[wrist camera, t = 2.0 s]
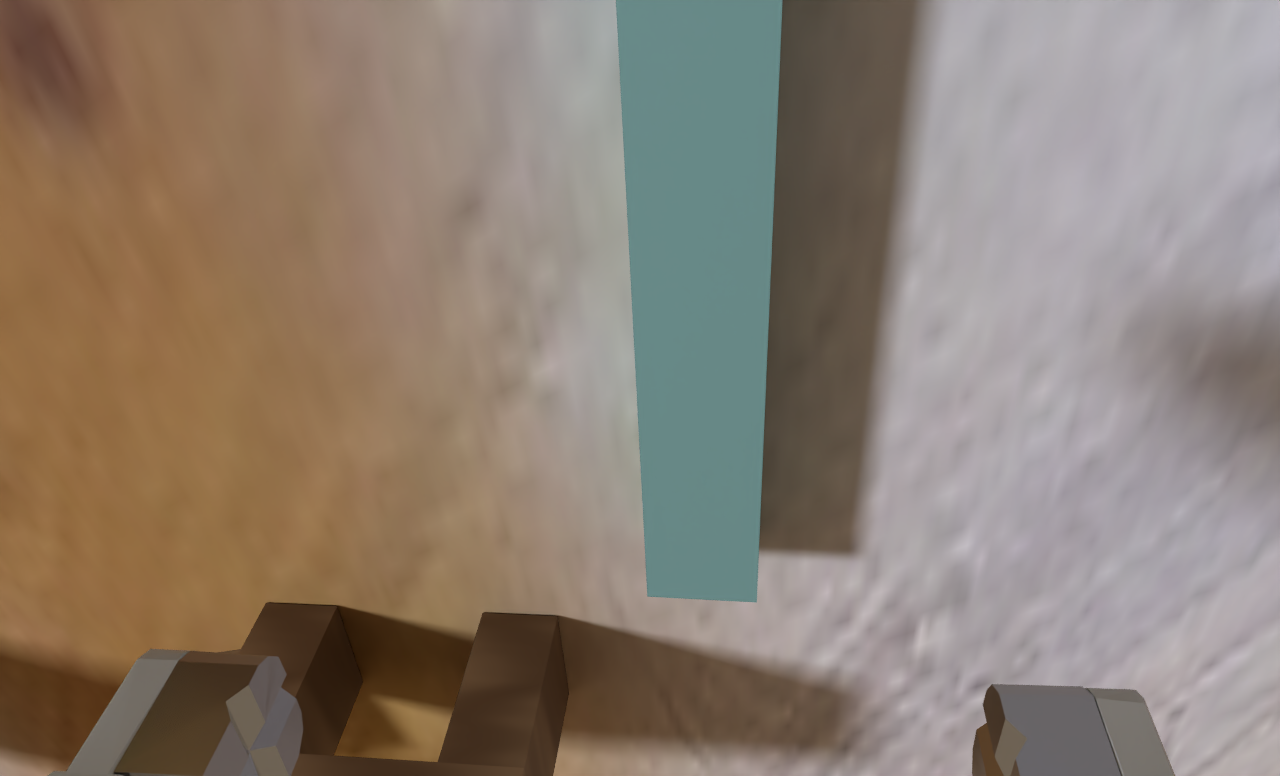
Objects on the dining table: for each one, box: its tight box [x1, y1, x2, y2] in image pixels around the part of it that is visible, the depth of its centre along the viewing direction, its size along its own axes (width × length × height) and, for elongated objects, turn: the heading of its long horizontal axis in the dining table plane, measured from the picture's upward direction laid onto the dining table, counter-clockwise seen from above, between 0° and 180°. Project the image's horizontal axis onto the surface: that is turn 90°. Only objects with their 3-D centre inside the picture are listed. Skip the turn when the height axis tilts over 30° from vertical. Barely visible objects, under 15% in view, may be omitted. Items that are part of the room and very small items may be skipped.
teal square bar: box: [616, 0, 782, 602], centre depth 22 cm, size 3×22×3 cm, turn 2°
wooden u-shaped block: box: [239, 603, 569, 776], centre depth 30 cm, size 10×4×9 cm, turn 93°
